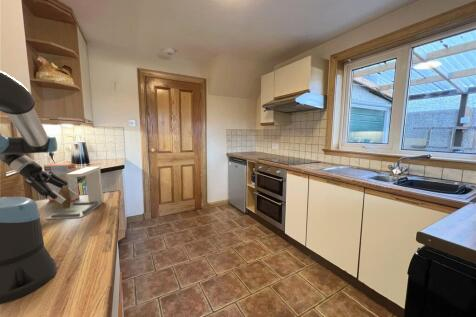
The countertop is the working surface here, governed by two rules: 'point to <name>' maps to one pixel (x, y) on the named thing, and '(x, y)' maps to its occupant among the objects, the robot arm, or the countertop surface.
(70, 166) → the cracker box
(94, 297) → the countertop surface
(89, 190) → the shelf unit
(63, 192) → the rock
